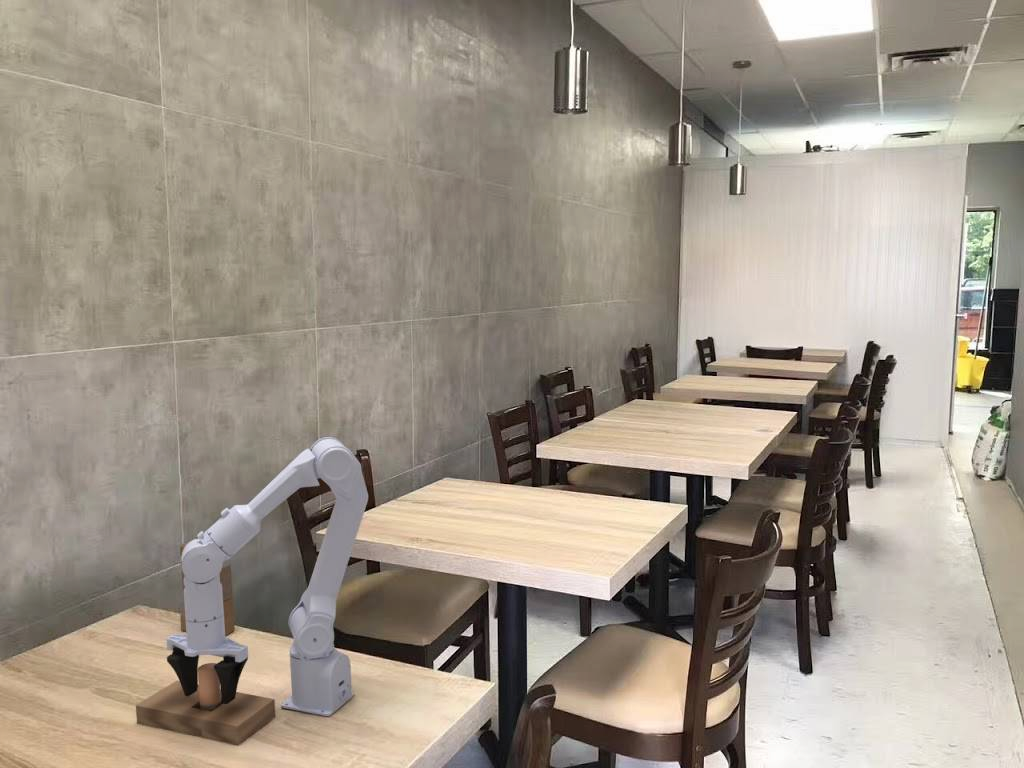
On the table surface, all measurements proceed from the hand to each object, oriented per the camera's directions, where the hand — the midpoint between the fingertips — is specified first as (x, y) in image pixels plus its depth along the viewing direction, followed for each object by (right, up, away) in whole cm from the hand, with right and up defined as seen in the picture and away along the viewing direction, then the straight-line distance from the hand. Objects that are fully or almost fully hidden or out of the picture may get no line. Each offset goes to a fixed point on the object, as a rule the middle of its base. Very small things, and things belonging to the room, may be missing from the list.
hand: (210, 697), depth 134 cm
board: (-1, -4, +1) cm, 4 cm away
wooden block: (-14, -1, +37) cm, 39 cm away
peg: (0, -4, +1) cm, 4 cm away
